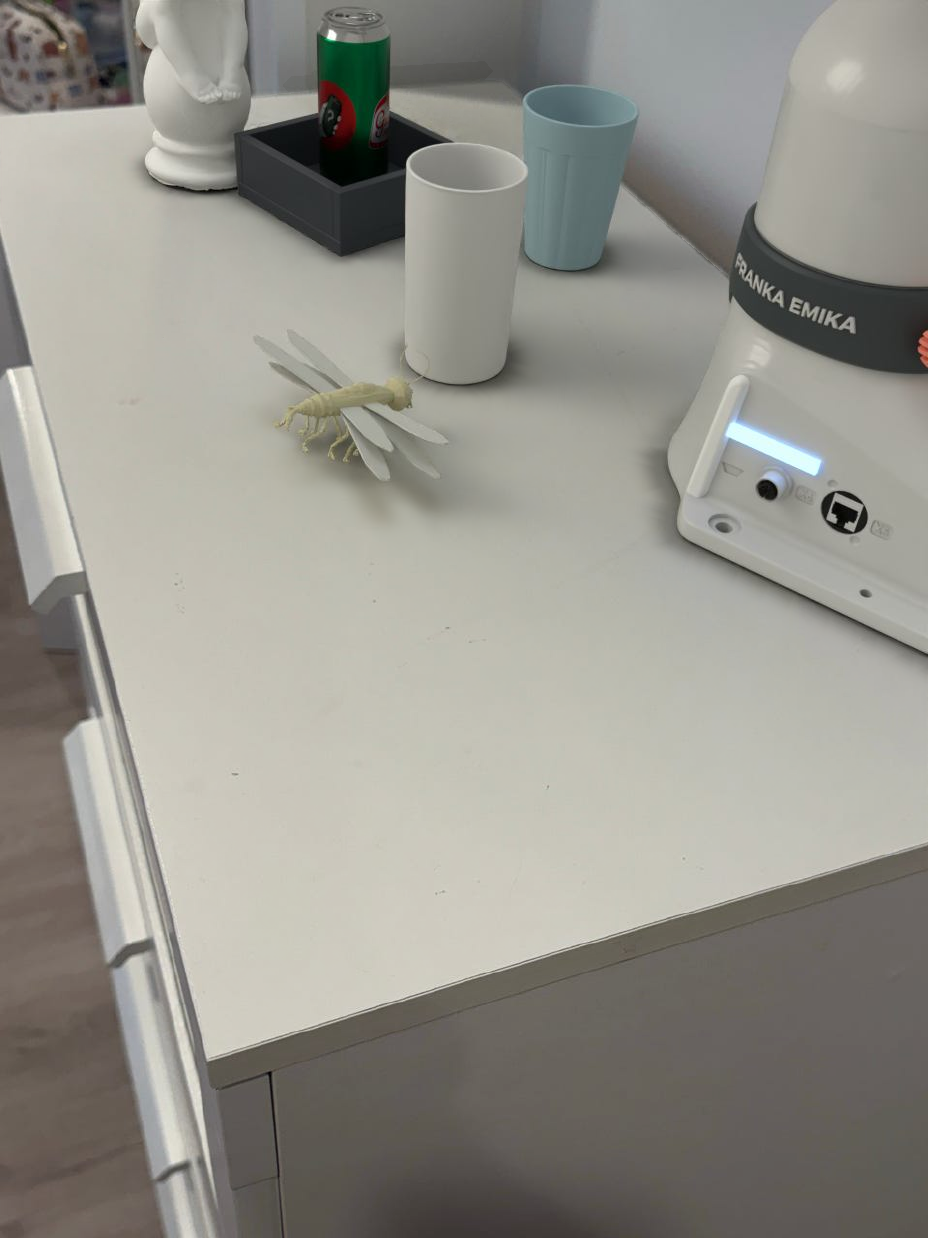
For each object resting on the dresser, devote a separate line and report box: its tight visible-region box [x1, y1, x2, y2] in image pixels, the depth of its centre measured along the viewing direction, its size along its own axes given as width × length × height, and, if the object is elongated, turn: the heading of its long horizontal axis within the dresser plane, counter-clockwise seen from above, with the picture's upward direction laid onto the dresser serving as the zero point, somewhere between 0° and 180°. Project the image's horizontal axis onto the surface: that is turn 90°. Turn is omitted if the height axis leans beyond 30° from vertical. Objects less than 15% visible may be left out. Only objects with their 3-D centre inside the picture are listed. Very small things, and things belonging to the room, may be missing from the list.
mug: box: [404, 142, 528, 385], centre depth 70 cm, size 10×7×12 cm, turn 5°
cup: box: [522, 84, 640, 271], centre depth 81 cm, size 8×8×10 cm
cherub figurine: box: [135, 0, 252, 191], centre depth 84 cm, size 12×12×22 cm
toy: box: [252, 328, 451, 483], centre depth 63 cm, size 15×9×5 cm, turn 39°
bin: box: [234, 109, 456, 257], centre depth 87 cm, size 13×13×4 cm
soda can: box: [316, 6, 392, 187], centre depth 84 cm, size 5×5×12 cm
